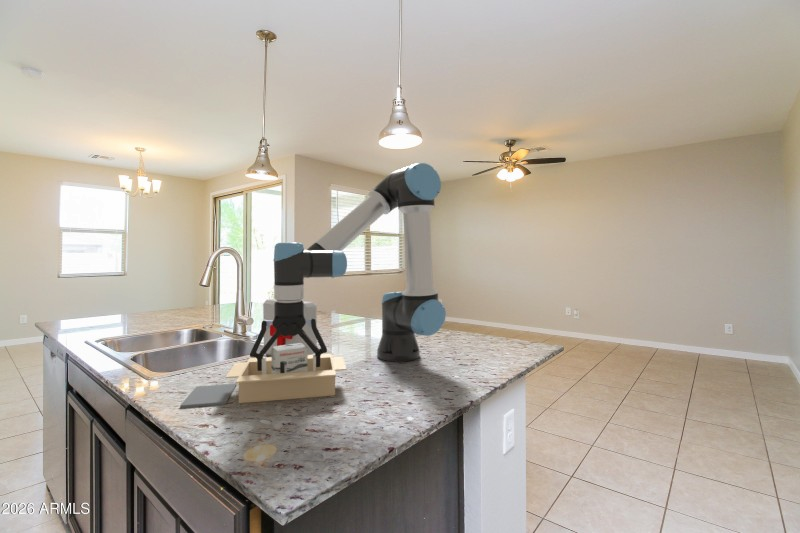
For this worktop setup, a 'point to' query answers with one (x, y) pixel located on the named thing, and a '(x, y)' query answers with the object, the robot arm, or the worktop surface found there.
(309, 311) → the bevelled white case
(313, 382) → the carton
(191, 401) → the mat
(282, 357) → the ink box
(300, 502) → the worktop surface
